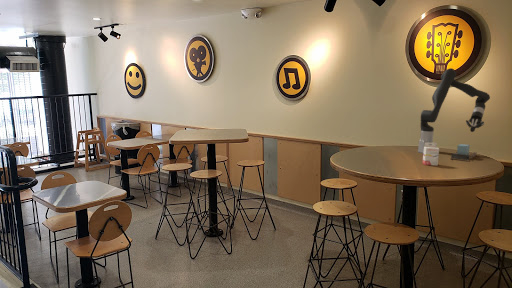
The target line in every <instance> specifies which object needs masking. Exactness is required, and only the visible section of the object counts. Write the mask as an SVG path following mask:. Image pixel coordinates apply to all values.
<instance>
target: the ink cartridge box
mask: <svg viewBox="0 0 512 288" xmlns="http://www.w3.org/2000/svg"><path fill="white" fill-rule="evenodd" d="M429 144H433V145H429ZM439 154H440V148H439V147H438V143H437V142H433V143H426V142H425V145H424V152H423V153H422V155H423V156H422V164H423V165H424V166H439V165H438V163H439V157H440V155H439Z"/></svg>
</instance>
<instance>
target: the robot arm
mask: <svg viewBox="0 0 512 288" xmlns="http://www.w3.org/2000/svg"><path fill="white" fill-rule="evenodd" d="M455 78H457V71H456V70H455V69H454V68H447V69H446V70H444V71H443V72H442V74H441V76H440V80H441V82H440V83H439V84H438V86H437V87H436V88H435V90H434V91H433V95H432V97H431V100H432V104H433V109H432V110H431V109H430V110H428V109H426V110H425V109H423V110H422V111H421V112H420V137H419V140H418V147H417V148H418V149H417V152H418V153H421V154H423V152H424V145H425V142H426V143H434V130H435V127H433V126H432V125H429V124H428V123H435V122H436V121H437V119H438V116H439V113H440V110H441V108H442V105H443V103H444V101H445V99H446V97H447V95H448V93H449V91H450V87H453V88H455V89H457V90H459V91H461V92H463V93H465V94H466V95H467V96H469V97H470V98H474V97H476V99H475V102H474V103H475V104H474V105H475V106H474V108H473V111H472V113H471V115H470V118H469V119H468V120H465V123H466V125H467V126H468V127H469V128H470V129H469V130H470V132H471V133H474V132H475V131H476V129H479V128H481V127H482V126H484V125H485V122H484V121H482V120H483V117H484V114H485V109H486V103H487V102H488V101H489V100H490V98H491V96H490V94H489V93H488V92H486V91H483V90H481V89H478V88H476V87H474V86H473V85H471V84H468V83H466V82H465V83H463V82H461V81H459V80H458V81H457V80H456V79H455ZM429 145H433V144H429Z"/></svg>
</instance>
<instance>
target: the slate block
mask: <svg viewBox="0 0 512 288" xmlns="http://www.w3.org/2000/svg"><path fill="white" fill-rule="evenodd" d="M456 147H457V149H456V152H457V154H464V155H470V144H464V143H463V144H462V143H460V144H458V145H457V146H456Z"/></svg>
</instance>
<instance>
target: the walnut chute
mask: <svg viewBox="0 0 512 288" xmlns="http://www.w3.org/2000/svg"><path fill="white" fill-rule="evenodd" d="M477 154H478V153H477V152H476V151H474V152H472V153H469V155H464V154H457V151H456V152H454V153H453V152H452V153H451V158H450V161H459V162H467V163H470V162H471V159H473V158H475V157H476V156H477Z"/></svg>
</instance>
